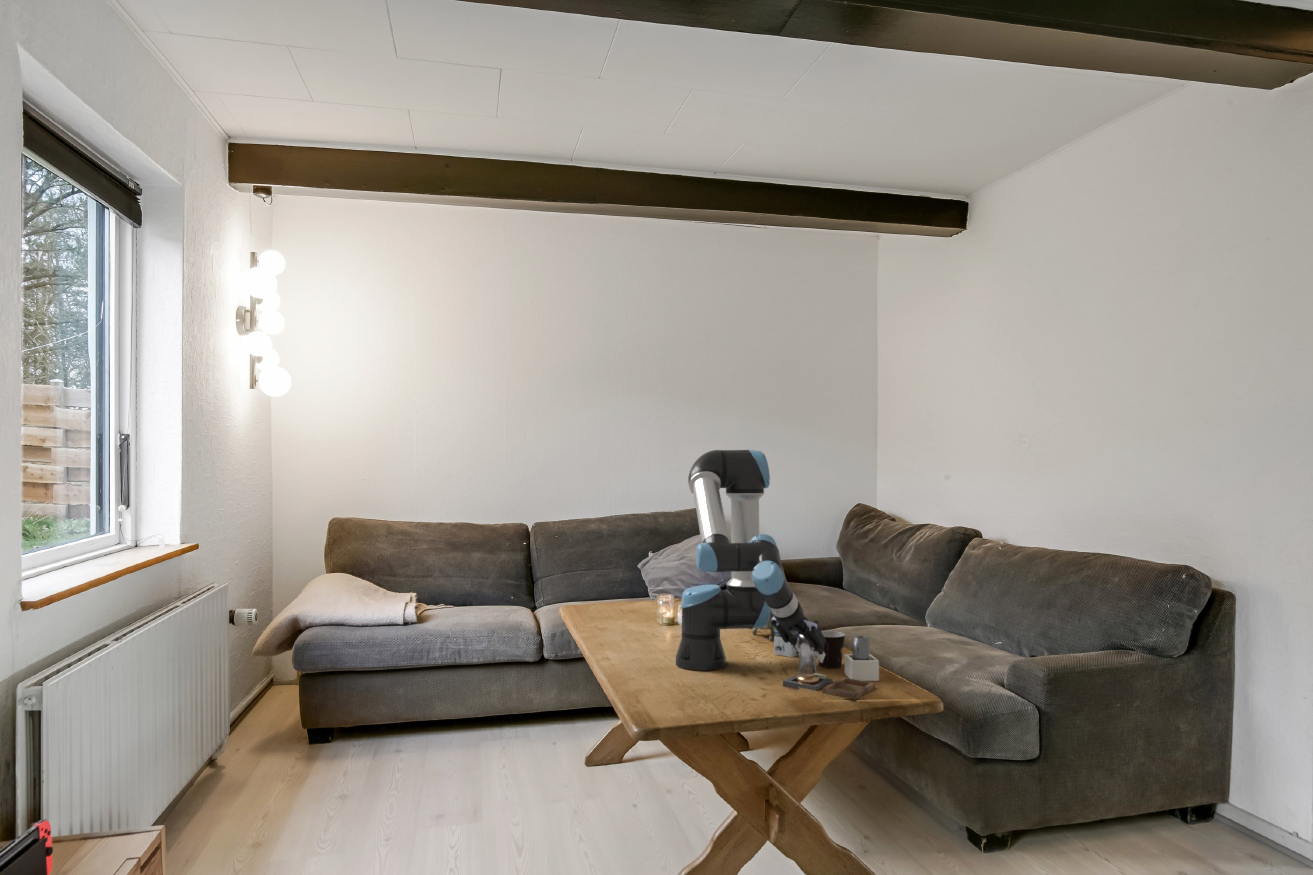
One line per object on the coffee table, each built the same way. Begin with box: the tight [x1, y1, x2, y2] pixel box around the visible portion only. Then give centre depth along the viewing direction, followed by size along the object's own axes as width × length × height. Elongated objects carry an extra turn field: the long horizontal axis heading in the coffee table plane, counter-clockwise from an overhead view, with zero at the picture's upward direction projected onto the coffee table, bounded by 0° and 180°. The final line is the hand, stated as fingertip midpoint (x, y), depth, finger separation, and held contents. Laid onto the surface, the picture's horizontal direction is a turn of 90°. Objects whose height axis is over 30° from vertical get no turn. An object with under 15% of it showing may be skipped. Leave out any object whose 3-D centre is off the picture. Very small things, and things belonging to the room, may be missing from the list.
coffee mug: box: [817, 630, 846, 670], centre depth 235 cm, size 12×9×10 cm
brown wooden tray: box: [822, 677, 876, 702], centre depth 212 cm, size 13×9×2 cm
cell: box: [798, 634, 817, 674], centre depth 219 cm, size 5×5×12 cm
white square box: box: [843, 653, 880, 682], centre depth 224 cm, size 8×8×6 cm
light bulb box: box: [773, 626, 799, 658], centre depth 254 cm, size 11×7×11 cm, turn 143°
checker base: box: [782, 672, 834, 692], centre depth 218 cm, size 10×10×2 cm
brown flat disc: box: [796, 673, 819, 685], centre depth 218 cm, size 6×6×1 cm
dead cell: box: [851, 633, 870, 660], centre depth 225 cm, size 5×5×12 cm
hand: (813, 656), depth 222 cm, fingers closed on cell, 4 cm apart
